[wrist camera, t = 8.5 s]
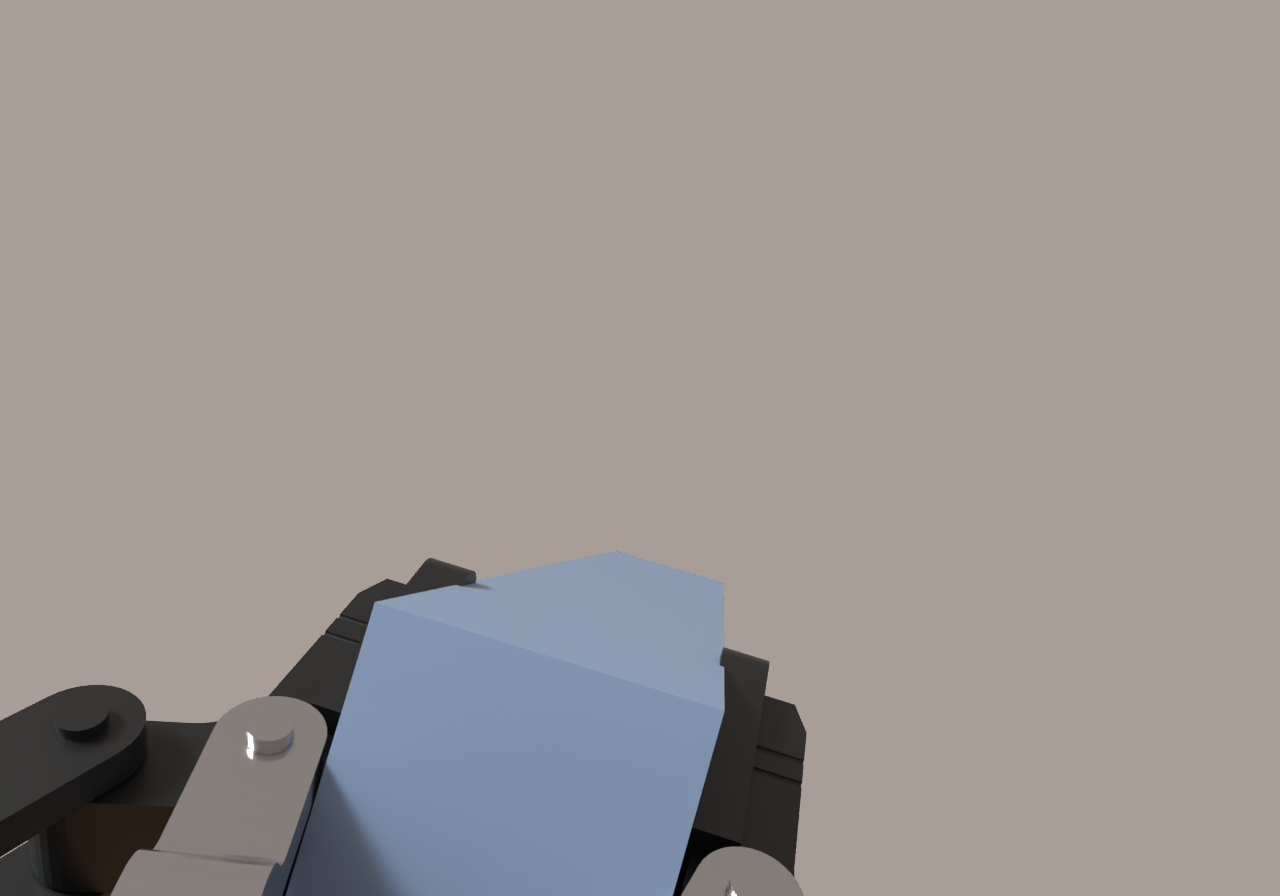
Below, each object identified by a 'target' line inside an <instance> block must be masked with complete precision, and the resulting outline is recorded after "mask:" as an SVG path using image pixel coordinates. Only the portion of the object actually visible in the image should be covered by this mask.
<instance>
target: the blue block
mask: <svg viewBox="0 0 1280 896" xmlns="http://www.w3.org/2000/svg"><path fill="white" fill-rule="evenodd" d="M723 584H724V583H723V582H719V581H715V580H713V579H709V578H706V577H702V576H699V575H696V574H692V573H689V572H685V571H682V570H679V569H675V568H672V567H669V566H665V565H662V564H659V563H655V562H652V561H649V560H645V559H641V558H638V557H635V556H632V555H628V554H625V553H622V552H618V551H613V552H608V553H603V554H599V555H594V556H589V557H584V558H580V559H575V560H571V561H566V562H561V563H556V564H551V565H547V566H542V567H538V568H533V569H528V570H523V571H518V572H515V573H509V574H504V575H500V576H495V577H490V578H485V579H481V580H476V583H472V584H468V585H463V586H458V585H453V586H448V587H443V588H438V589H434V590H429V591H424V592H420V593H415V594H410V595H405V596H401V597H396V598H391V599H387V600H382V601H377V602H375V603H374V607H373V610H372V613H371V616H370V620H369V623H368V626H367V630H366V633H365V636H364V639H363V643H362V646H361V649H360V653H359V656H358V659H357V663H356V666H355V669H354V672H353V676H352V679H351V682H350V686H349V689H348V692H347V695H346V699H345V702H344V705H343V709H342V712H341V715H340V718H339V722H338V725H337V728H336V732H335V735H334V738H333V741H332V745H331V748H330V751H329V755H328V758H327V761H326V765H325V768H324V771H323V774H322V778H321V781H320V784H319V788H318V791H317V794H316V797H315V801H314V804H313V807H312V811H311V814H310V817H309V820H308V824H307V827H306V830H305V834H304V837H303V840H302V844H301V847H300V850H299V853H298V857H297V860H296V863H295V867H294V870H293V873H292V876H291V880H290V883H289V886H288V890H287V893H286V896H673V893H674V889H675V886H676V882H677V878H678V875H679V871H680V868H681V864H682V861H683V857H684V854H685V850H686V846H687V843H688V839H689V836H690V832H691V829H692V825H693V822H694V818H695V814H696V811H697V807H698V804H699V800H700V797H701V793H702V789H703V786H704V782H705V779H706V775H707V772H708V768H709V765H710V761H711V757H712V754H713V750H714V747H715V743H716V740H717V736H718V733H719V729H720V725H721V722H722V718H723V715H724V711H725V700H724V667H723V666H720V655H721V652H722V649H723V647H724V585H723Z"/></svg>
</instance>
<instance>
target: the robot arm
mask: <svg viewBox="0 0 1280 896" xmlns="http://www.w3.org/2000/svg"><path fill="white" fill-rule="evenodd" d="M472 583H476V573H475V572H474V571H472V570H468V569H465V568H462V567H459V566H455V565H452V564H449V563H445V562H442V561H439V560H436V559H433V558H429V559H427V560H426V561H425V562H424V563H423V565H422V566H421V567H420V568H419V570H418V571H417V572H416V573H415V575H414V576H413V577H412V578H411V580H410V581H409V582H408V583H407V585H405V584H402V583H399V582H396V581H393V580H389V579H386V580H384V581H382V582H380V583H378V584H376V585H374V586H372V587H370V588H368V589H366V590H364V591H362V592H360V593H358V594H357V595H356V597H355V598H354V599H353V600H352V601H351V602H350V603H349V605H348V606H347V607H346V608H345V609H344V610H343V611H342V613H341V614H340V617H339V618H337V619H336V620H335V621H334V622H333V623H332V624H331V625H330V626H329V628H328V629H327V630H326V632H325V634H324V635H322V636H321V637H320V638H319V639H318V640H317V641H316V642H315V644H314V645H313V646H312V647H311V648H310V649H309V650H308V651H307V653H306V654H305V655H304V656H303V657H302V658H301V659H300V661H299V662H298V663H297V664H296V666H294V667H293V669H292V670H291V671H290V672H289V673H288V674H287V676H286V677H285V678H284V679H283V680H282V681H281V682H280V683H279V685H278V686H277V687H276V688H275V689H274V691H272V693H271V694H270V695H269V696H268V697H262V698H256V699H253V700H249V701H246V702H244V703H242V704H240V705H238V706H236V707H234V708H232V709H231V710H229V711H228V712H227V713H226V714H224V715H223V716H222V718H221V719H220V720H219V721H218V722H210V723H178V722H160V721H146V712H145V708H144V705H143V704H142V702H141V701H140V700H139V699H138V698H137V697H136V696H135V695H133V694H132V693H130V692H129V691H126V690H124V689H121V688H117V687H113V686H106V685H88V686H80V687H75V688H71V689H67V690H64V691H61V692H58V693H56V694H53V695H51V696H49V697H47V698H45V699H43V700H41V701H39V702H37V703H35V704H33V705H31V706H29V707H27V708H25V709H23V710H21V711H19V712H17V713H15V714H13V715H11V716H9V717H7V718H5V719H3V720H1V721H0V857H1V856H2V855H4V854H6V853H7V852H9V851H11V850H12V849H14V848H15V847H17V846H19V845H20V844H22V843H23V842H25V841H27V840H28V842H27V843H25V844H23V845H22V846H20V847H18V848H17V849H15V850H13V851H12V852H10V853H9V854H7V855H5V856H4V857H2V858H0V896H286V893H287V890H288V886H289V883H290V880H291V876H292V873H293V870H294V867H295V863H296V860H297V857H298V853H299V850H300V847H301V844H302V840H303V837H304V834H305V830H306V827H307V824H308V820H309V817H310V814H311V811H312V807H313V804H314V801H315V797H316V794H317V791H318V788H319V784H320V781H321V778H322V774H323V771H324V768H325V765H326V761H327V758H328V755H329V751H330V748H331V745H332V741H333V738H334V735H335V732H336V728H337V725H338V722H339V718H340V715H341V712H342V709H343V705H344V702H345V699H346V695H347V692H348V689H349V686H350V682H351V679H352V676H353V672H354V669H355V666H356V663H357V659H358V656H359V653H360V649H361V646H362V643H363V639H364V636H365V633H366V630H367V626H368V623H369V620H370V616H371V613H372V610H373V607H374V603H375V602H377V601H382V600H387V599H391V598H396V597H401V596H405V595H410V594H415V593H420V592H424V591H429V590H434V589H438V588H443V587H448V586H453V585H458V586H463V585H468V584H472ZM720 666H723V667H724V700H725V711H724V715H723V718H722V722H721V725H720V729H719V733H718V736H717V740H716V743H715V747H714V750H713V754H712V757H711V761H710V765H709V768H708V772H707V775H706V779H705V782H704V786H703V789H702V793H701V797H700V800H699V804H698V807H697V811H696V814H695V818H694V822H693V825H692V829H691V832H690V836H689V839H688V843H687V846H686V850H685V854H684V857H683V861H682V864H681V868H680V871H679V875H678V878H677V882H676V886H675V889H674V893H673V896H803V893H802V890H801V888H800V886H799V885H798V882H797V881H796V880H795V878H794V864H795V853H796V842H797V831H798V820H799V808H800V798H801V783H802V776H803V761H804V754H805V743H806V731H805V728H804V726H803V723H802V721H801V719H800V716H799V714H798V712H797V709H796V707H795V705H793V704H790V703H787V702H784V701H781V700H777V699H774V698H771V697H768V696H764V695H765V689H766V682H767V676H768V669H769V661H767V660H763V659H760V658H757V657H754V656H751V655H747V654H744V653H741V652H738V651H734V650H731V649H728V648H724V647H723V649H722V652H721V655H720Z"/></svg>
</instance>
